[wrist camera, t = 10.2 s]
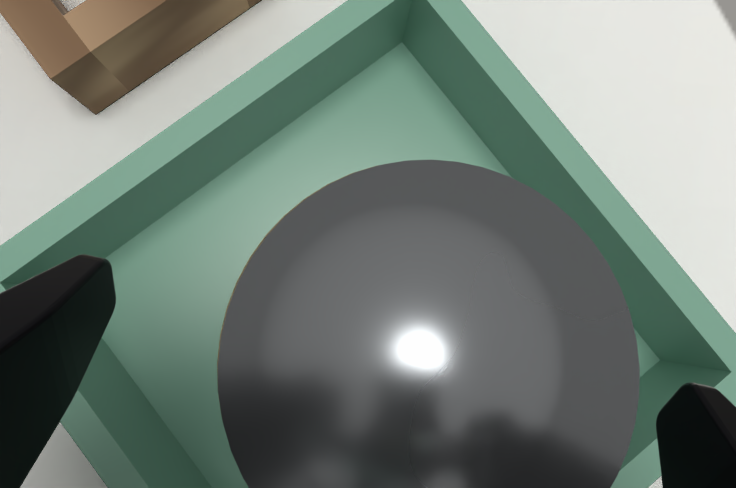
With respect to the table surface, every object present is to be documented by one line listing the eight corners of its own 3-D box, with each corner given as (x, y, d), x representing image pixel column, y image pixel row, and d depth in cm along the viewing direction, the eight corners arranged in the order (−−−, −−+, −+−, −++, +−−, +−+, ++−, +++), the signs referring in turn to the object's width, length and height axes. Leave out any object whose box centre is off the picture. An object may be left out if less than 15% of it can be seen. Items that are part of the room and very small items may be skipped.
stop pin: (331, 409, 18) (307, 677, 5) (286, 291, 18) (150, 245, 5) (448, 360, 18) (715, 488, 5) (400, 245, 18) (540, 96, 6)
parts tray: (325, 673, 17) (320, 782, 13) (39, 283, 18) (-44, 276, 14) (681, 362, 19) (771, 376, 15) (403, 20, 20) (419, -51, 16)
